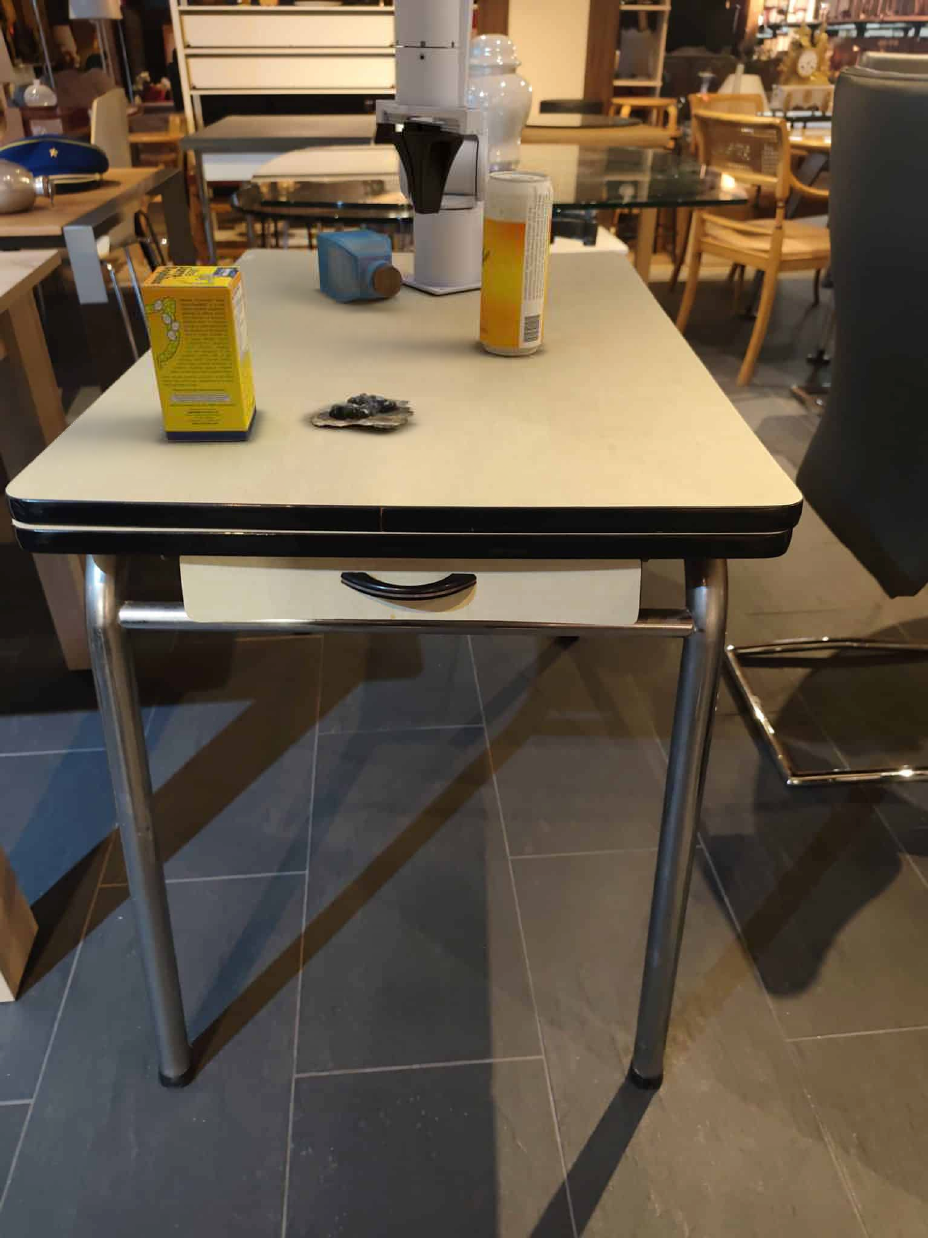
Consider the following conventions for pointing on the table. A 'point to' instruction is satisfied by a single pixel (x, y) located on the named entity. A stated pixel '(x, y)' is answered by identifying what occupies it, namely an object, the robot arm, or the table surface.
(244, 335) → the supplement box
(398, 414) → the grey flat lumpy piece
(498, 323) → the beer can
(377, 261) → the perfume bottle
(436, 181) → the robot arm
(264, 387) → the table surface
